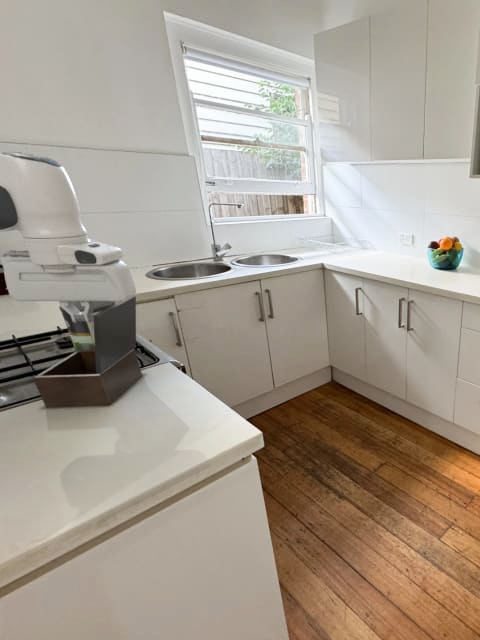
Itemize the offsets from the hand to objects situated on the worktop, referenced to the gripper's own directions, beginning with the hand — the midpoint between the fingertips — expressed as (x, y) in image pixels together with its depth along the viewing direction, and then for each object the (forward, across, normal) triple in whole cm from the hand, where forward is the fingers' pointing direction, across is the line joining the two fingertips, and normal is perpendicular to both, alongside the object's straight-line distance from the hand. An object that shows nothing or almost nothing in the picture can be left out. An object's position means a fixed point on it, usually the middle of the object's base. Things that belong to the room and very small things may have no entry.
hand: (84, 321), depth 75 cm
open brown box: (+16, -2, 0) cm, 16 cm away
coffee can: (+16, -10, +18) cm, 26 cm away
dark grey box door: (+2, +5, 0) cm, 5 cm away
